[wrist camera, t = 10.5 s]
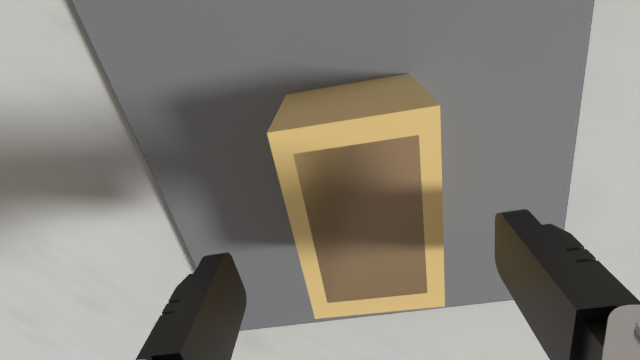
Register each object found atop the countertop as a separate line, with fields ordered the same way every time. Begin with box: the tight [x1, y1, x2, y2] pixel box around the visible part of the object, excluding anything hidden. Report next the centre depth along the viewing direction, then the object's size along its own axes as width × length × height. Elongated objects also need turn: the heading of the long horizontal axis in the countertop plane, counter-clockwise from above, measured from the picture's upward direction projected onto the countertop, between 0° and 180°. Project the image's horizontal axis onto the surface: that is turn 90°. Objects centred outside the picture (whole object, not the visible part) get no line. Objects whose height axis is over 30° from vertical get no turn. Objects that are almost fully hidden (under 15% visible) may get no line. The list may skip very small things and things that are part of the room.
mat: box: [72, 0, 594, 331], centre depth 16 cm, size 18×18×1 cm
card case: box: [267, 73, 445, 319], centre depth 13 cm, size 5×8×4 cm, turn 10°
